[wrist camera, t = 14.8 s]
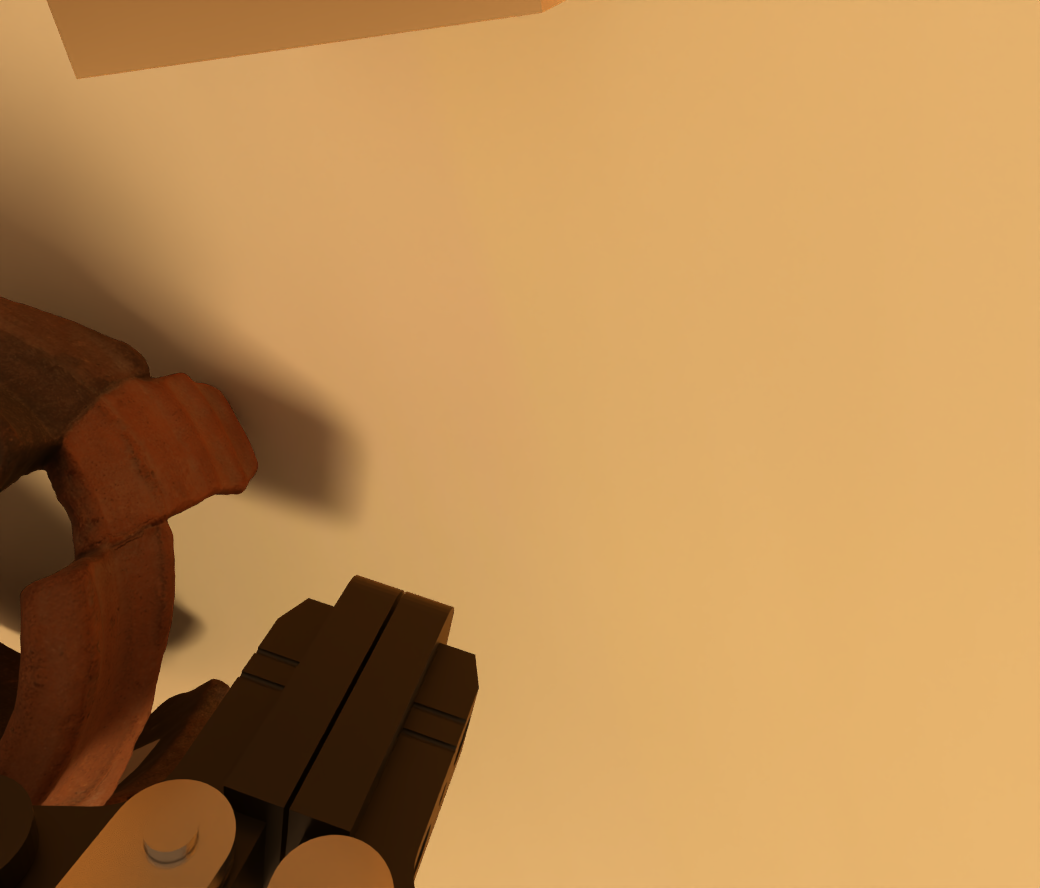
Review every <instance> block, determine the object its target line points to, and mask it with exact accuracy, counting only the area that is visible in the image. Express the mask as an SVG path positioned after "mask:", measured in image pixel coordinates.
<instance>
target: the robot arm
mask: <svg viewBox="0 0 1040 888" xmlns="http://www.w3.org/2000/svg"><path fill="white" fill-rule="evenodd" d="M453 614H454V607H451V606H448V605H445V604H442V603H439V602H436V601H433V600H430V599H428V598H425V597H422V596H419V595H416V594H413V593H410V592H405V594H404V591H403V590H400V589H397V588H394V587H391V586H388V585H385V584H382V583H379V582H376V581H373V580H370V579H367V578H364V577H362V576H359V575H356V576H354V577H353V578H352V579H351V581H350V582H349V584H348V585H347V587H346V588H345V590H344V592H343V593H342V595H341V596H340V598H339V600H338V601H337V603H336V605H335V606H334V607H333V606H330V605H327V604H324V603H321V602H318V601H316V600H313V599H310V598H308V599H307V600H305V601H304V602H302V603H301V604H299V605H298V606H296V607H295V608H293V609H292V610H290V611H289V612H287V613H286V614H284V615H283V616H281V617H280V618H278V619H277V621H276V622H275V624H274V625H273V627H272V628H271V629H270V631H269V632H268V634H267V635H266V637H265V638H264V640H263V641H262V643H261V644H260V646H259V647H258V650H257V652H256V654H255V653H254V654H253V656H252V657H251V659H250V660H249V662H248V663H247V665H246V666H245V667H244V669H243V670H242V674H241V676H240V677H238V678H237V679H236V681H235V682H234V684H233V685H232V686H231V688H230V689H229V691H228V692H227V694H226V695H225V697H224V698H223V700H222V701H221V703H220V704H219V705H218V707H217V708H216V710H215V711H214V713H213V714H212V716H211V717H210V719H209V720H208V722H207V723H206V724H205V726H204V727H203V729H202V730H201V732H200V733H199V735H198V736H197V738H196V739H195V741H194V742H193V743H192V745H191V746H190V748H189V749H188V751H187V752H186V754H185V755H184V757H183V758H182V760H181V761H180V762H179V764H178V765H177V766H176V768H175V769H174V770H173V771H172V773H171V774H170V775H168V776H167V777H166V778H165V779H164V780H163V781H162V782H161V783H157V784H155V785H152V786H150V787H148V788H145V789H144V790H142V791H140V792H139V793H137V794H135V795H134V796H133V797H132V798H130V799H129V800H128V801H124V802H121V803H118V804H112V805H106V806H42V805H32V802H31V799H30V797H29V795H28V793H27V791H26V790H25V789H24V788H23V787H22V785H20V784H19V783H18V782H16V781H15V780H13V779H11V778H9V777H7V776H4V775H0V888H415V887H414V880H415V877H416V875H417V872H418V869H419V866H420V864H421V861H422V858H423V855H424V853H425V850H426V847H427V844H428V842H429V839H430V836H431V834H432V831H433V828H434V825H435V823H436V820H437V817H438V814H439V811H440V809H441V806H442V803H443V801H444V798H445V795H446V792H447V790H448V786H449V784H450V781H451V779H452V776H453V773H454V770H455V768H456V765H457V762H458V760H459V757H460V754H461V751H462V748H463V744H464V740H465V737H466V733H467V729H468V725H469V722H470V718H471V714H472V711H473V707H474V703H475V700H476V696H477V692H478V689H479V685H478V676H477V667H476V658H475V655H474V654H471V653H468V652H466V651H463V650H460V649H457V648H454V647H451V646H448V645H447V640H448V636H449V632H450V627H451V623H452V618H453Z"/></svg>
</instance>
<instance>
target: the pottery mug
mask: <svg viewBox="0 0 1040 888" xmlns="http://www.w3.org/2000/svg"><path fill="white" fill-rule="evenodd" d="M257 468H258V462H257V460H256V457H255V454H254V452H253V449H252V447H251V444H250V442H249V440H248V438H247V436H246V434H245V432H244V430H243V428H242V427H241V425H240V423H239V421H238V420H237V418H236V416H235V414H234V412H233V410H232V408H231V407H230V405H229V403H228V401H227V400H226V398H225V397H224V396H223V394H222V393H221V391H220V390H218V389H216V388H215V387H213V386H210V385H208V384H204V383H197V382H194V381H193V380H192V379H191V378H190V377H189V376H187V375H186V374H185V373H177V374H172V375H168V376H164V377H159V378H152V377H151V376H150V374H149V367H148V365H147V363H146V360H145V359H144V357H143V356H142V355H141V354H140V353H138V352H137V351H136V350H135V349H134V348H132V347H131V346H129V345H128V344H126V343H124V342H122V341H118V340H115V339H113V338H110V337H108V336H105V335H103V334H101V333H99V332H97V331H95V330H92V329H89V328H87V327H85V326H83V325H80V324H78V323H76V322H74V321H71V320H68V319H65V318H62V317H59V316H56V315H53V314H51V313H48V312H44V311H41V310H39V309H36V308H33V307H30V306H28V305H25V304H21V303H17V302H13V301H11V300H8V299H5V298H2V297H0V492H2V491H3V490H4V489H6V488H7V487H9V486H10V485H11V484H12V483H15V482H16V481H17V480H18V479H19V478H20V477H21V476H23V475H27V474H29V473H31V472H33V471H36V470H46V472H47V474H48V478H49V479H50V481H51V483H52V488H53V489H54V491H55V493H56V496H57V499H58V501H59V502H60V503H61V504H62V506H63V507H64V508H65V510H66V512H67V514H68V516H69V518H70V521H71V524H72V534H73V543H74V551H75V560H74V561H73V562H72V563H71V564H70V565H69V566H67V567H65V568H64V569H62V570H60V571H58V572H56V573H54V574H52V575H50V576H48V577H45V578H43V579H40V580H38V581H35V582H33V583H31V584H30V585H28V586H27V587H25V588H24V590H23V591H22V592H21V595H20V608H21V635H20V643H21V653H18V652H16V651H14V650H13V649H11V648H9V647H7V646H5V645H4V644H3V643H1V642H0V775H4V776H7V777H9V778H11V779H13V780H15V781H16V782H18V783H19V784H20V785H22V787H23V788H24V789H25V790H26V791H27V793H28V795H29V797H30V799H31V802H32V805H42V806H106V805H112V804H118V803H121V802H124V801H128V800H129V799H130V798H132V797H133V796H134V795H135V794H137V793H139V792H140V791H142V790H144V789H145V788H148V787H150V786H152V785H155V784H157V783H161V782H162V781H163V780H164V779H165V778H166V777H167V776H168V775H170V774H171V773H172V771H173V770H174V769H175V768H176V766H177V765H178V764H179V762H180V761H181V760H182V758H183V757H184V755H185V754H186V752H187V751H188V749H189V748H190V746H191V745H192V743H193V742H194V741H195V739H196V738H197V736H198V735H199V733H200V732H201V730H202V729H203V727H204V726H205V724H206V723H207V722H208V720H209V719H210V717H211V716H212V714H213V713H214V711H215V710H216V708H217V707H218V705H219V704H220V703H221V701H222V700H223V698H224V697H225V695H226V694H227V692H228V691H229V689H230V687H229V686H228V685H227V684H225V683H224V682H222V681H220V680H217V679H211V680H210V681H208V682H206V683H204V684H203V685H201V686H199V687H197V688H196V689H194V690H192V691H189V692H186V693H181V694H178V695H175V696H173V697H171V698H169V699H168V700H166V701H165V702H164V703H162V704H161V705H160V706H159V707H158V708H157V709H156V710H155V711H154V712H153V713H151V710H152V705H153V701H154V695H155V689H156V684H157V681H158V675H159V672H160V667H161V662H162V658H163V654H164V652H165V650H166V646H167V641H168V636H169V632H170V628H171V623H172V616H173V605H174V597H175V558H174V549H173V534H172V531H171V529H170V527H169V524H168V521H167V520H168V518H170V517H172V516H174V515H176V514H178V513H181V512H183V511H185V510H187V509H189V508H191V507H193V506H195V505H197V504H199V503H200V502H202V501H203V500H204V499H206V498H208V497H210V496H213V495H215V494H216V495H229V494H240V493H242V492H243V491H244V490H245V489H246V487H247V485H248V483H249V481H250V480H251V479H252V477H253V476H254V475H255V473H256V472H257Z"/></svg>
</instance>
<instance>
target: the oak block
mask: <svg viewBox="0 0 1040 888" xmlns="http://www.w3.org/2000/svg"><path fill="white" fill-rule="evenodd" d="M563 1H565V0H47V2H48V5H49V7H50V10H51V13H52V15H53V18H54V20H55V23H56V26H57V28H58V31H59V34H60V36H61V39H62V41H63V44H64V47H65V49H66V52H67V55H68V57H69V60H70V62H71V65H72V68H73V70H74V73H75V76H76V78H77V79H81V78H88V77H95V76H102V75H109V74H116V73H123V72H130V71H137V70H144V69H151V68H158V67H165V66H172V65H179V64H186V63H193V62H200V61H207V60H214V59H221V58H228V57H235V56H242V55H249V54H256V53H263V52H270V51H277V50H284V49H291V48H298V47H305V46H312V45H319V44H326V43H333V42H340V41H347V40H354V39H361V38H368V37H375V36H382V35H389V34H396V33H403V32H410V31H417V30H424V29H431V28H438V27H445V26H452V25H459V24H466V23H473V22H480V21H487V20H494V19H501V18H508V17H515V16H522V15H529V14H536V13H542V12H544V11H546V10H548V9H550V8H552V7H554V6H556V5H558V4H560V3H562V2H563Z"/></svg>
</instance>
